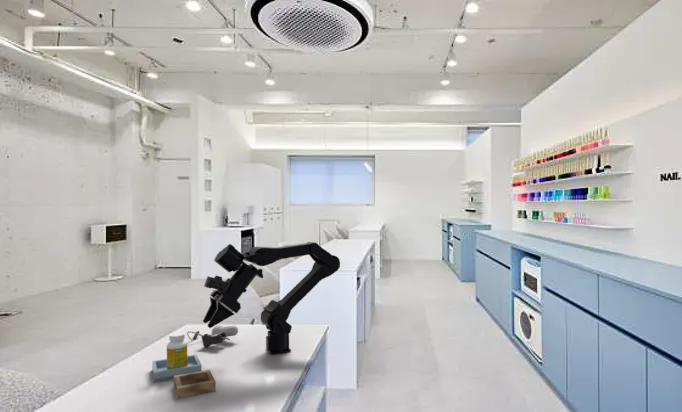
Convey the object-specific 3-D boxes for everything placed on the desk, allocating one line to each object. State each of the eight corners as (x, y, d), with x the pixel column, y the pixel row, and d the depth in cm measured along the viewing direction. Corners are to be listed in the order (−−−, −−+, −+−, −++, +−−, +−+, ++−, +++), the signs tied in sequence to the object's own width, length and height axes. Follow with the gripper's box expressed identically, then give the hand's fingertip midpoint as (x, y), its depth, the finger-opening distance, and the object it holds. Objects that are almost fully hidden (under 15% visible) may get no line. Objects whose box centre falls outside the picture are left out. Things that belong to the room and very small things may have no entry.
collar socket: (209, 378, 113) (209, 369, 113) (215, 391, 105) (215, 381, 105) (173, 385, 109) (173, 375, 109) (177, 399, 101) (177, 388, 101)
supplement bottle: (174, 374, 115) (173, 338, 115) (163, 369, 118) (162, 335, 118) (191, 368, 119) (191, 333, 119) (180, 364, 122) (180, 330, 123)
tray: (196, 362, 126) (196, 354, 126) (201, 374, 117) (201, 365, 117) (152, 369, 120) (152, 361, 120) (154, 382, 111) (154, 372, 111)
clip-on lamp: (181, 353, 144) (221, 348, 136) (176, 335, 144) (216, 328, 137) (205, 340, 155) (243, 334, 147) (200, 323, 155) (239, 316, 147)
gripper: (214, 264, 136) (181, 305, 130) (225, 266, 119) (187, 313, 114) (241, 285, 139) (209, 325, 133) (255, 289, 122) (220, 336, 117)
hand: (206, 324), depth 124 cm, fingers open, 9 cm apart
